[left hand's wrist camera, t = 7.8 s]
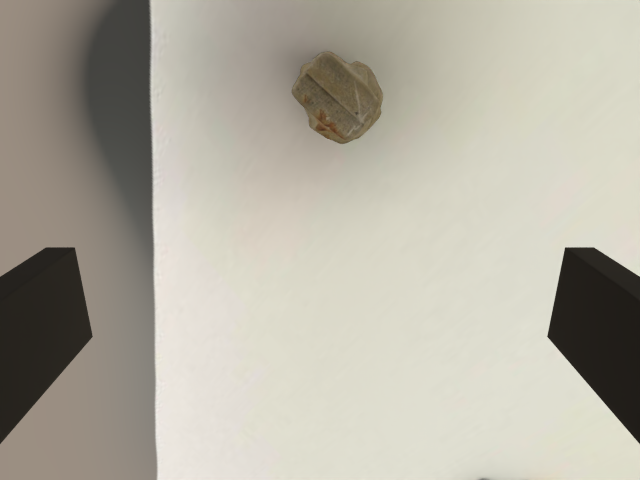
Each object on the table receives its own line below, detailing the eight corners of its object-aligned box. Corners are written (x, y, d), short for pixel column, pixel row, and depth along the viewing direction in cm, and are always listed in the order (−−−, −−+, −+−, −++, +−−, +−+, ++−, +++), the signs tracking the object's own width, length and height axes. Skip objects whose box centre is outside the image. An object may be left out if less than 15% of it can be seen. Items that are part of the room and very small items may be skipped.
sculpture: (333, 39, 40) (341, 21, 26) (388, 102, 41) (423, 117, 27) (286, 89, 41) (269, 97, 27) (341, 146, 43) (352, 183, 29)
